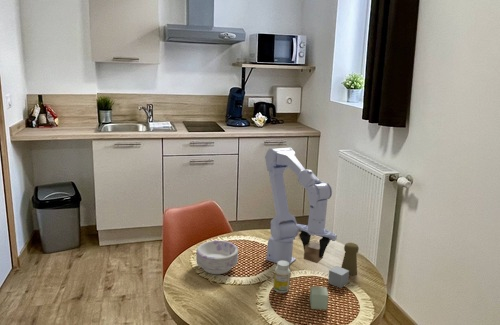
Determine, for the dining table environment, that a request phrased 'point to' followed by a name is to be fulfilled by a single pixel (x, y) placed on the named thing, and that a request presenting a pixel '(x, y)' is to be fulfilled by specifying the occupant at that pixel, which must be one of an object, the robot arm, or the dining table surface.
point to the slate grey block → (338, 276)
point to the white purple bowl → (217, 256)
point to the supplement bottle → (282, 277)
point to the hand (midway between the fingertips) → (313, 254)
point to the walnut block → (312, 252)
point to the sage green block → (318, 298)
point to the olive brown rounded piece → (350, 258)
